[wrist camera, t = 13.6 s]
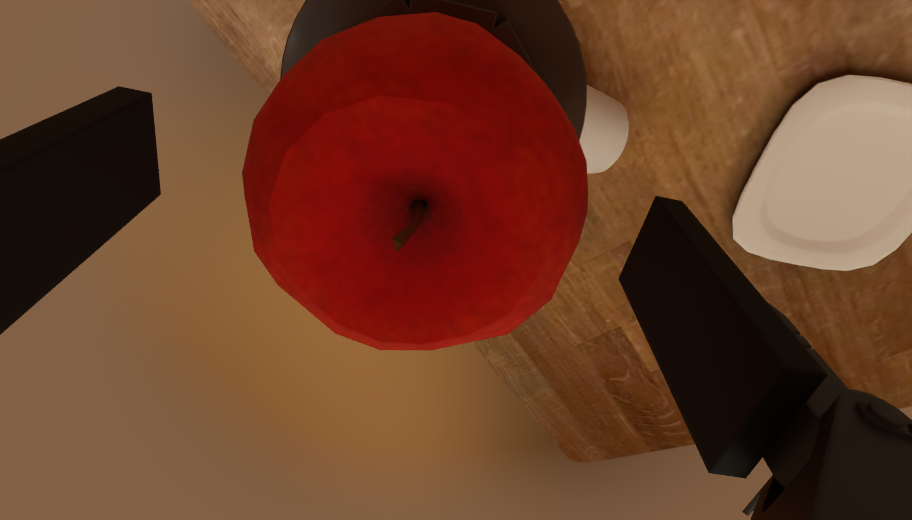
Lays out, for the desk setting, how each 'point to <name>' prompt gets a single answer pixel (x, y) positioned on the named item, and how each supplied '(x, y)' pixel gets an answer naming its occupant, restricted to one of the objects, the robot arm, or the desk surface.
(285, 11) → the desk surface
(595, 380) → the desk surface
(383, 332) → the apple
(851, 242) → the plate
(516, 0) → the holder
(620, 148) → the cup
